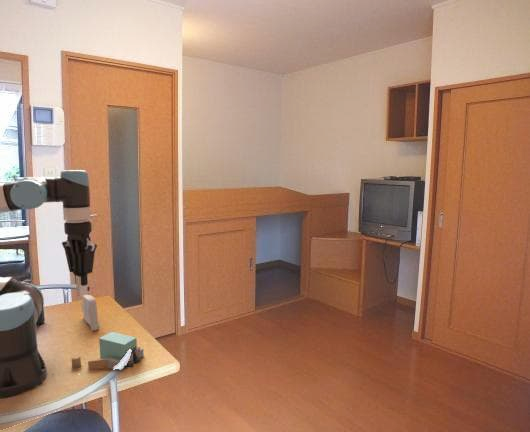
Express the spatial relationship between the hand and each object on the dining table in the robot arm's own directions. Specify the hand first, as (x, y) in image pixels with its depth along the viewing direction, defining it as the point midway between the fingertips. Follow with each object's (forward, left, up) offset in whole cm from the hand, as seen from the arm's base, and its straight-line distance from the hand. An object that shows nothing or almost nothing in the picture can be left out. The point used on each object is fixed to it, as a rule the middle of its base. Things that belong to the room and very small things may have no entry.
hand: (82, 294), depth 124 cm
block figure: (-1, -12, -18) cm, 22 cm away
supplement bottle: (+6, +34, -18) cm, 39 cm away
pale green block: (0, -15, -18) cm, 23 cm away
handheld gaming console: (+16, +16, -19) cm, 29 cm away
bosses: (-1, -21, -18) cm, 27 cm away
